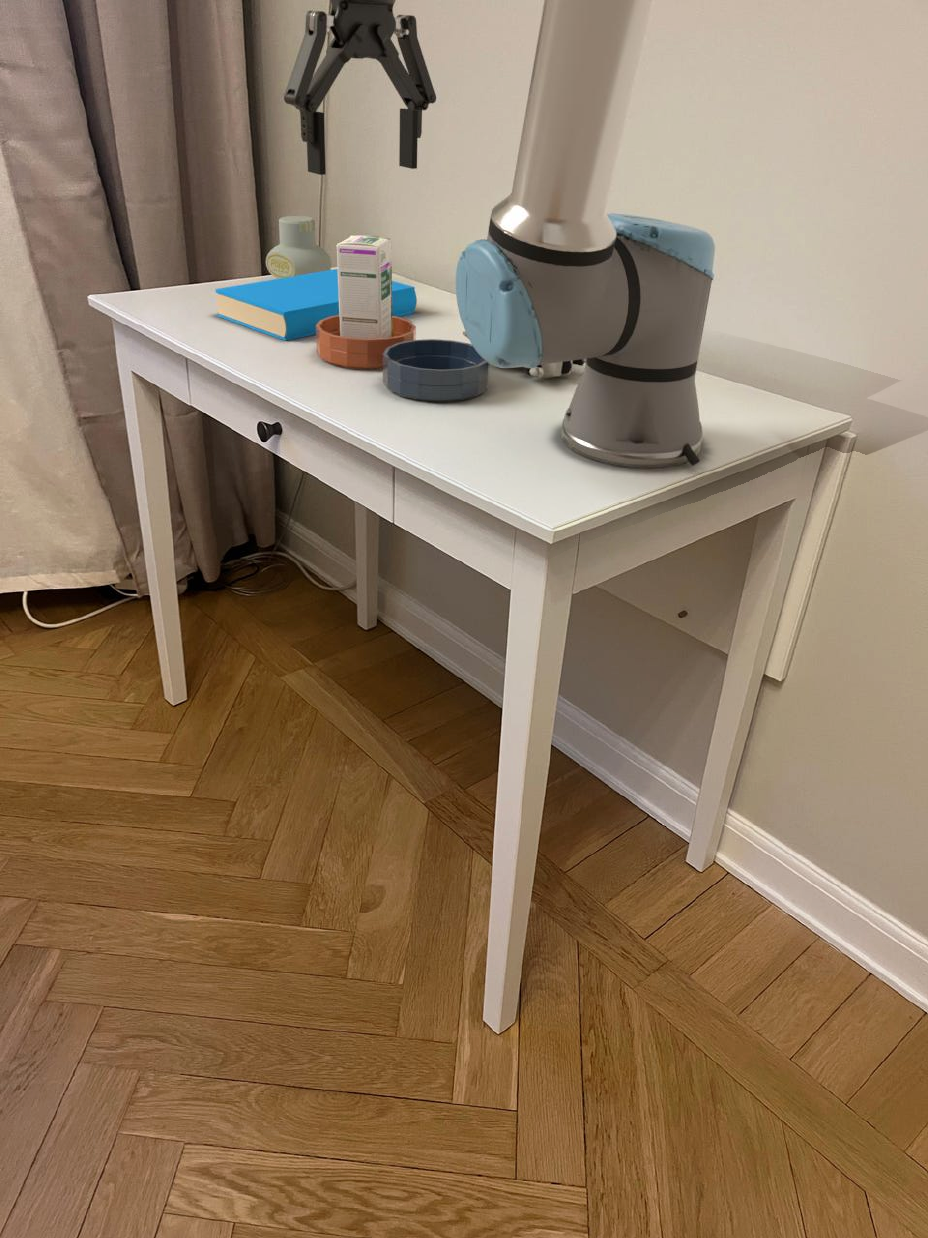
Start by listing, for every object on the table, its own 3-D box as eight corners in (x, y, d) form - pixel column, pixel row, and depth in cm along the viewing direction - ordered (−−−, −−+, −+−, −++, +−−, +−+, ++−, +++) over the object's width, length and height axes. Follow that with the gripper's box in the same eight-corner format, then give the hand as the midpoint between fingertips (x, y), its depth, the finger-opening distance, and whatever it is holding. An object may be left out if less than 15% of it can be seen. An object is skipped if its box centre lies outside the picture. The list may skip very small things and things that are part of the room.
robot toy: (599, 381, 130) (524, 344, 139) (605, 347, 127) (528, 312, 136) (531, 397, 123) (457, 358, 132) (535, 362, 120) (459, 324, 130)
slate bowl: (509, 390, 122) (511, 359, 120) (427, 410, 115) (427, 377, 113) (443, 364, 131) (444, 333, 129) (363, 380, 123) (362, 349, 121)
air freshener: (259, 278, 167) (255, 216, 162) (296, 272, 173) (293, 211, 168) (303, 290, 162) (300, 226, 156) (339, 283, 167) (338, 220, 162)
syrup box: (382, 360, 130) (381, 245, 122) (338, 356, 130) (336, 241, 123) (393, 349, 134) (393, 236, 127) (351, 344, 135) (349, 233, 128)
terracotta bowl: (434, 360, 132) (435, 330, 130) (354, 376, 125) (353, 345, 123) (377, 337, 140) (377, 308, 138) (299, 351, 133) (297, 321, 131)
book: (213, 289, 144) (343, 264, 160) (216, 318, 146) (344, 291, 162) (287, 313, 134) (417, 284, 150) (289, 344, 137) (417, 313, 153)
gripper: (429, -32, 119) (425, 160, 130) (245, -46, 105) (258, 170, 116) (469, -31, 114) (461, 168, 125) (282, -46, 100) (292, 180, 111)
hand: (363, 170), depth 121 cm, fingers open, 13 cm apart
